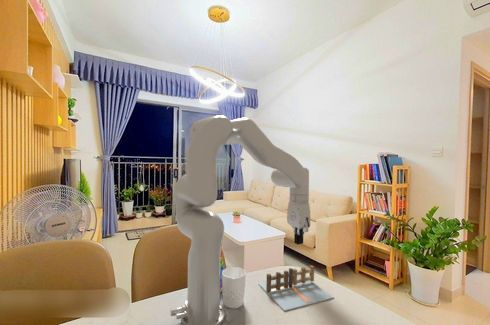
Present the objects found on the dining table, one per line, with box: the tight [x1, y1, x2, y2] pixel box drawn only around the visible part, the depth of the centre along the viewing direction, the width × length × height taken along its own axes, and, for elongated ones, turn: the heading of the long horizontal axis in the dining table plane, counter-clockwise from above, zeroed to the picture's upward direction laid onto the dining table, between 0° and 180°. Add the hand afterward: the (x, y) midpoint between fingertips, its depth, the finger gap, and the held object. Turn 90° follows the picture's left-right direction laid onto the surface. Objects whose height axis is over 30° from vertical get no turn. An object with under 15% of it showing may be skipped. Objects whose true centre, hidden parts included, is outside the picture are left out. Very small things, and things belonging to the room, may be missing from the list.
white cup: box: [221, 266, 247, 309], centre depth 81 cm, size 8×8×10 cm
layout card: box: [258, 275, 335, 313], centre depth 89 cm, size 20×18×1 cm
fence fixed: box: [266, 267, 294, 293], centre depth 89 cm, size 10×1×7 cm, turn 113°
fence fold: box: [292, 265, 315, 285], centre depth 93 cm, size 9×1×6 cm, turn 113°
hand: (298, 243), depth 99 cm, fingers closed
